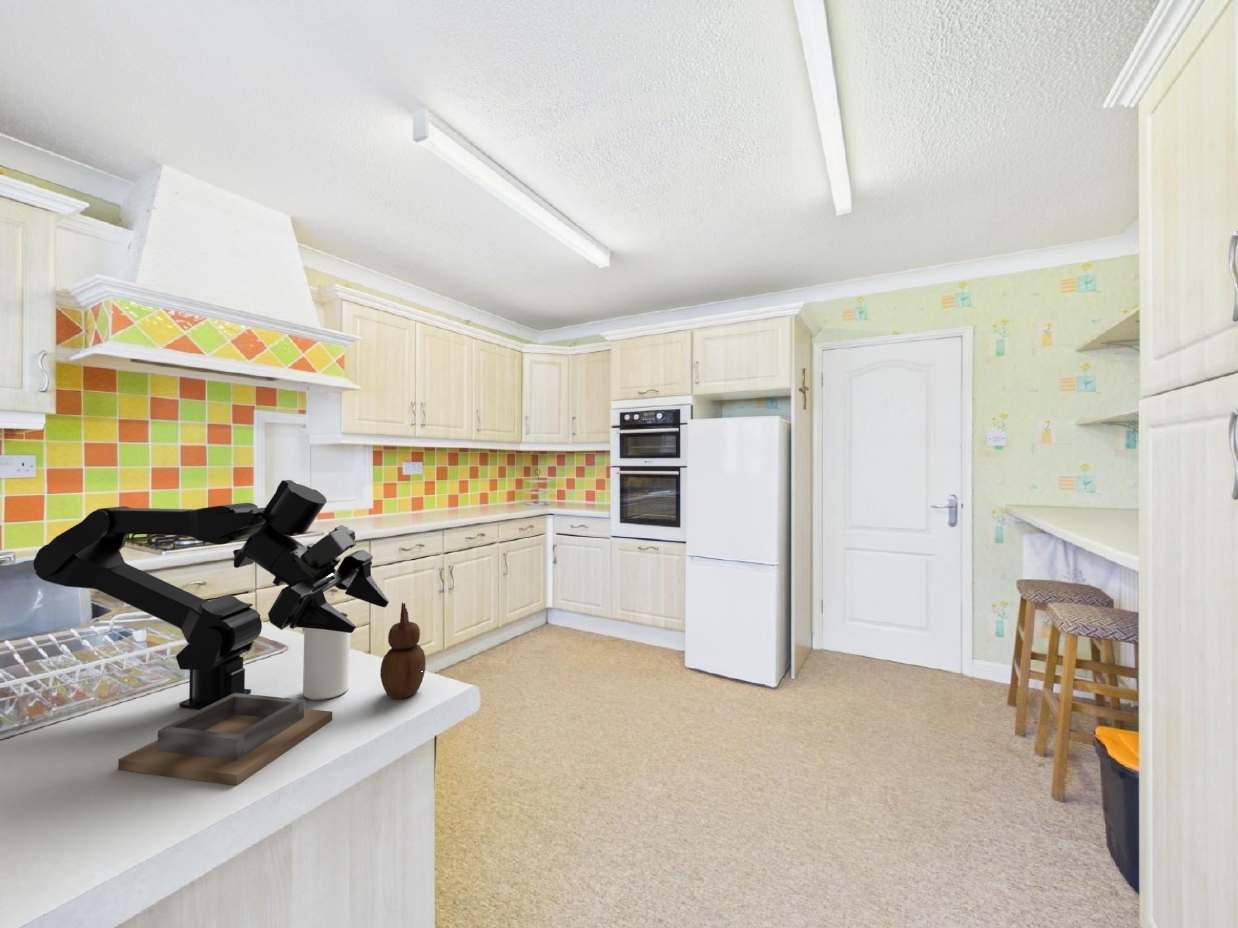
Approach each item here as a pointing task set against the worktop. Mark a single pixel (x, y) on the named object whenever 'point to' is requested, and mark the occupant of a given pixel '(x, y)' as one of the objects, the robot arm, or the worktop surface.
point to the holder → (227, 739)
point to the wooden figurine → (403, 659)
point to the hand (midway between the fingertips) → (371, 616)
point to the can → (325, 663)
